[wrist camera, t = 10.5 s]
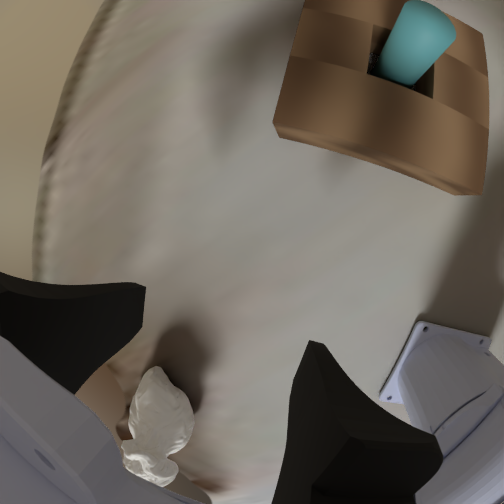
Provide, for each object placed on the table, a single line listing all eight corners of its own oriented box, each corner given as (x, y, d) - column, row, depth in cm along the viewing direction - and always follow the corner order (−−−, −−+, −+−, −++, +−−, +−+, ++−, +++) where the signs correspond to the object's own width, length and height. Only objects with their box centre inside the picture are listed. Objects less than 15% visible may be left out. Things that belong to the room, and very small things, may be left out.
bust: (175, 424, 28) (207, 500, 19) (114, 424, 24) (132, 507, 15) (190, 350, 26) (235, 442, 16) (112, 346, 22) (125, 451, 12)
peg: (408, 74, 16) (455, 16, 7) (403, 104, 16) (456, 54, 8) (373, 60, 16) (403, -8, 7) (367, 90, 17) (401, 26, 8)
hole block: (463, 52, 14) (482, 34, 10) (454, 195, 17) (481, 195, 13) (314, -1, 16) (312, -29, 12) (279, 137, 19) (272, 121, 15)
